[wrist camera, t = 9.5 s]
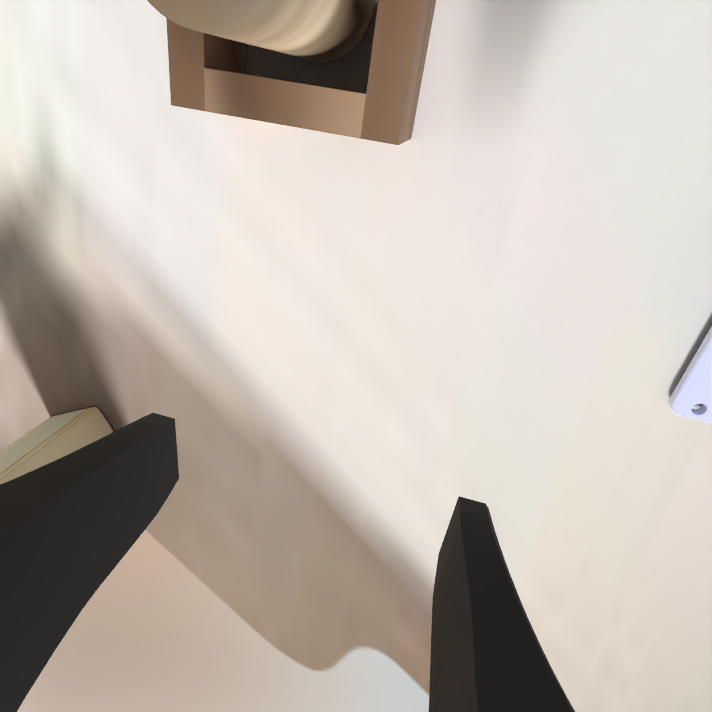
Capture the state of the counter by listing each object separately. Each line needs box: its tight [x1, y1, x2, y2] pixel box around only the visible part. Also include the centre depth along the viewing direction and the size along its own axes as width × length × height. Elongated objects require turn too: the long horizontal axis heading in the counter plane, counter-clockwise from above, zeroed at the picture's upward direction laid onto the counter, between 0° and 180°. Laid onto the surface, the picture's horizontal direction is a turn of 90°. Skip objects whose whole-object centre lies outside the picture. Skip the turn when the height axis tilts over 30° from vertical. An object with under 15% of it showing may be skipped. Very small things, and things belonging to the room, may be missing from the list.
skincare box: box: [0, 407, 114, 484], centre depth 24 cm, size 6×4×12 cm
